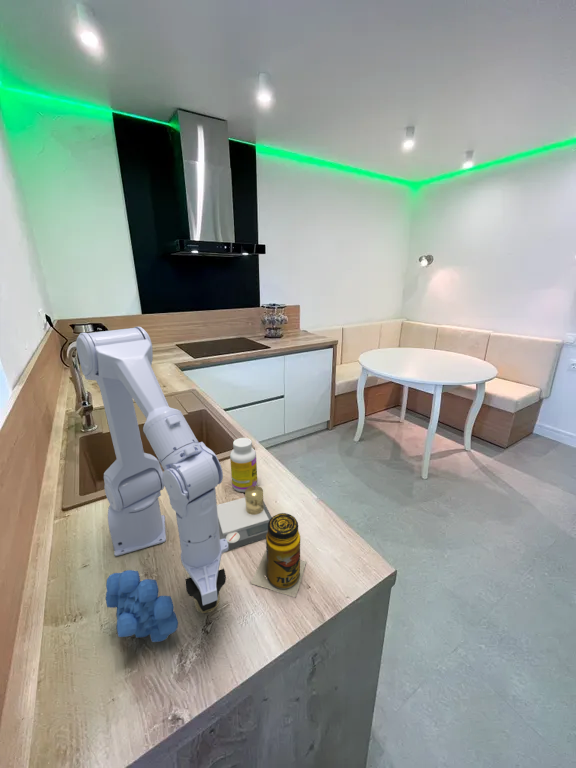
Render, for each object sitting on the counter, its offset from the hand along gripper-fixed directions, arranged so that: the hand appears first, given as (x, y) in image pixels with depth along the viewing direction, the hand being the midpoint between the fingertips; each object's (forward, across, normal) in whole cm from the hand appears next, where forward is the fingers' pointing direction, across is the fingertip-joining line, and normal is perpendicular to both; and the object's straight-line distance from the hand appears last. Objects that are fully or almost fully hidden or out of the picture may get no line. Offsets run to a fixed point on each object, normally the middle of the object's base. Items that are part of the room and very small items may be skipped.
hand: (206, 593), depth 50 cm
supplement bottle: (+3, +29, -14) cm, 32 cm away
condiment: (+3, +1, -13) cm, 14 cm away
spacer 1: (+2, 0, 0) cm, 2 cm away
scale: (+3, +16, -10) cm, 19 cm away
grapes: (+3, -1, +10) cm, 10 cm away
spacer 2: (+1, +17, -13) cm, 21 cm away
